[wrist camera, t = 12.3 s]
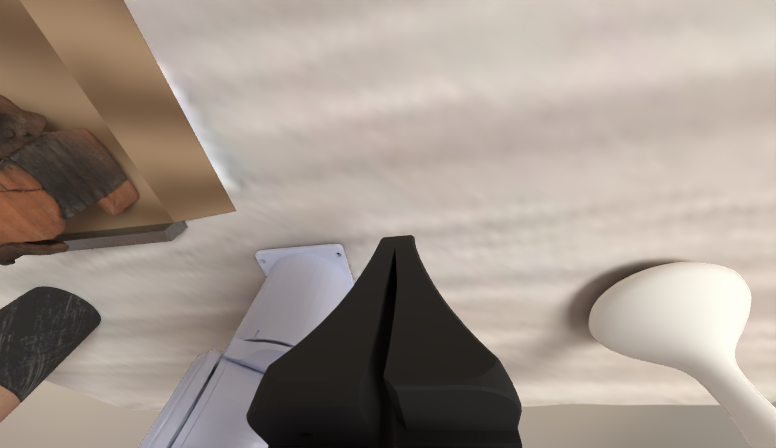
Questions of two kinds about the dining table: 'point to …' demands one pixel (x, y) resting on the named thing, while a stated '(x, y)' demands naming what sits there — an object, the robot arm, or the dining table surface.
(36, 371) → the travel mug
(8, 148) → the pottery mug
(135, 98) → the brown flat board
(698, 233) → the dining table surface
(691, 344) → the flower in vase
